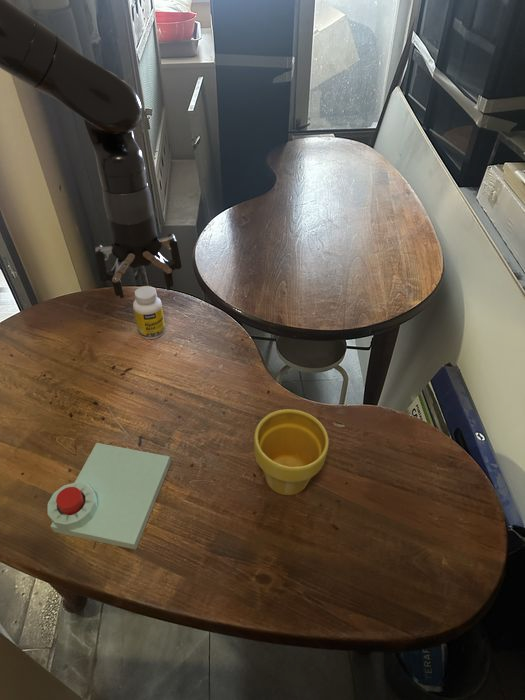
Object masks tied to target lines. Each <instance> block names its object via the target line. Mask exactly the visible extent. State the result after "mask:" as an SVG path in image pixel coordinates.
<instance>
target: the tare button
mask: <svg viewBox="0 0 525 700" xmlns="http://www.w3.org/2000/svg"><path fill="white" fill-rule="evenodd" d="M56 503H57V505H58V507H59V509H60V511H61V512H62V513H63V514H66V515H71V514H74V513H76V512H78V511H79V510H80V509H81V508H82V506H83V504H84V498H83V496H82V494H81V492H80V490H79V489H78V488H76V487H67V488H65V489H63V490H62V491H61V492H60V493H59V494H58V495H57V498H56Z"/></svg>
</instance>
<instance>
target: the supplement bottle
mask: <svg viewBox="0 0 525 700" xmlns="http://www.w3.org/2000/svg"><path fill="white" fill-rule="evenodd" d="M134 299H135V300H134V301H133V303H132V308H133V313H134V319H135V324H136V329H137V333H138V335H139V336H140V337H141V338H143V339H146V340H154V339H158V338H160V337H161V336H163V335H164V333H165V332H166V323H165V317H164V310H163V303H162V300H161V298H160V297H158V293H157V290H156V288H155V287H153V286H150V285H142V286H140V287H137V288H136V289H135V291H134Z"/></svg>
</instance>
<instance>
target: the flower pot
mask: <svg viewBox="0 0 525 700" xmlns="http://www.w3.org/2000/svg"><path fill="white" fill-rule="evenodd" d="M259 421H260V422H259V423H258V424H257V426H256V428H255V430H254V435H253V452H254V453H253V454H254V457H255V460H256V461H255V462H257V464H258V466H259V467H260V468H261V470H262V472H263V476H264V479H265V482H266V484H267V486H268V487H269V488H270V489H271V490H272V491H273V492H275V493H277V494H278V495H282V496H294V495H297V494H300V493H301V492H302V491H303V490H305V489H306V487H307V486H308V484H309V482H310V481H311V479H312V478H313V477H314V476H316V475H317V474H318V473H319V472H320V471H321V470H322V468H323V467H324V464H325V462H326V458H327V455H328V452H329V444H330V443H329V442H330V440H329V435H328V432H327V430H326V428H325V427H324V425H323V424H322V422H321V421H319V419H317V417H315V416H313V415H311V414H310V413H308V412H306V411H303V410H300V409H299V410H298V409H290V408H288V409H278V410H275V411H272V412H270V413H268V414H267V415H266V416H264V417H263V418H262V419H261V420H259Z"/></svg>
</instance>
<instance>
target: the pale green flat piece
mask: <svg viewBox="0 0 525 700" xmlns="http://www.w3.org/2000/svg"><path fill="white" fill-rule="evenodd" d="M171 464H172V461H171V457H170V455H169V456H168V455H164V454H158V453H152V452H147V451H143V450H137V449H132V448H126V447H120V446H115V445H110V444H105V443H99V442H96V443H95V445H94V446H93V448H92V450H91V452H90V453H89V455H88V457H87V459H86V460H85V463H84V465H83V466H82V468H81V470H80V472H79V474H78V475H77V477H76V479H75V481H74V482H72V483H68V484H64V485H62V486H61V487H60V488H59V489H57V490H56V491H54V492H53V493H52V495H51V497H50V499H49V500H48V502H47V516H48V517H49V520H50V521H51V524H50V528H51V529H52V532H53V533H56V534H61V535H66V536H70V537H75V538H80V539H84V540H88V541H93V542H97V543H102V544H107V545H112V546H116V547H121V548H125V549H129V550H135V551H136V550H137V549H138V546H139V544H140V541H141V538H142V536H143V534H144V531H145V529H146V527H147V524H148V521H149V519H150V516H151V514H152V511H153V509H154V506H155V504H156V501H157V498H158V496H159V494H160V491H161V488H162V487H163V484H164V482H165V478H166V477H167V473H168V472H169V469H170V466H171ZM67 487H76V488H78V489H79V490H80V492H81V494H82V496H83V498H84V504H83V506H82V508H81V509H80V510H79V511H78V512H76V513H74V514H71V515H66V514H63V513H62V512H61V511H60V509H59V507H58V505H57V503H56V498H57V495H58V494H59V493H60V492H61V491H62V490H63V489H65V488H67Z"/></svg>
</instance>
